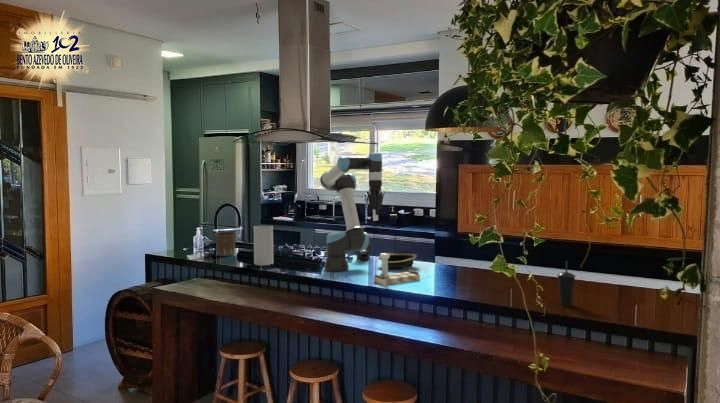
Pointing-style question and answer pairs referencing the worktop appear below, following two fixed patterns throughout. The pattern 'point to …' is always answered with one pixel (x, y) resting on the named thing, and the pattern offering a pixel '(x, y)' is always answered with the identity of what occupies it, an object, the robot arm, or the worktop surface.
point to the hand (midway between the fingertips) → (375, 220)
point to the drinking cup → (566, 287)
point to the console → (397, 278)
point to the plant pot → (225, 243)
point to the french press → (364, 256)
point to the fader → (384, 265)
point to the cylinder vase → (263, 245)
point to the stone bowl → (400, 259)
